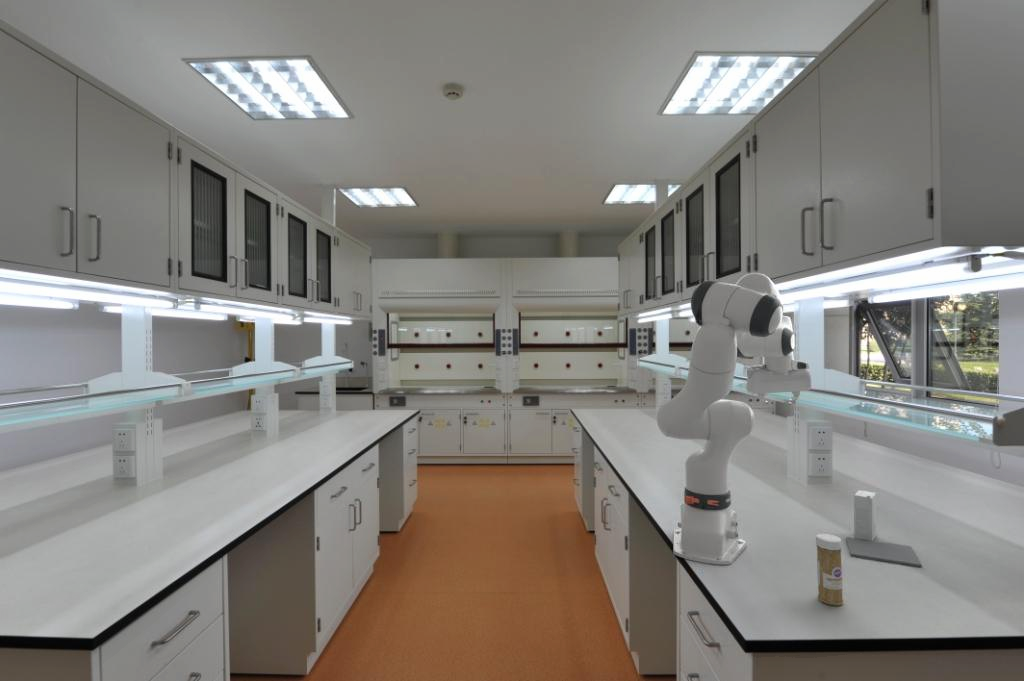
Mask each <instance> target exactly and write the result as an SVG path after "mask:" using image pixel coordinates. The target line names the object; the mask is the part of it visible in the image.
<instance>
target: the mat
mask: <svg viewBox="0 0 1024 681" xmlns="http://www.w3.org/2000/svg"><path fill="white" fill-rule="evenodd" d="M845 541H846V544H847V545H846V546H847V548H848V551H849V555H850V557H853V556H855V558H860V559H861V558H862V559H867V560H873V561H879V562H885V563H892V564H899V565H905V566H911V567H917V568H923V564H922V562H921V561H920V560H919V557H918V556H917V554H916V552H915V551H914V549H913V547H912V545H906V544H899V543H893V542H892V543H891V542H884V541H878V540H873V541H872V540H865V539H858V538H855V537H850V536H845Z"/></svg>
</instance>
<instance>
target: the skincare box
mask: <svg viewBox="0 0 1024 681" xmlns="http://www.w3.org/2000/svg"><path fill="white" fill-rule="evenodd" d="M853 500H854V501H853V511H854V512H853V513H854V514H853V517H854V518H853V520H854V521H853V526H854V528H853V532H854V535H853V536H854V537H853V538H858V539H865V540H872V541H875V538H876V537H877V536H878V535H877V531H878V530H877V526H878V525H877V493H876V492H872V491H866V490H857V491H856V493H855V494H854V495H853Z"/></svg>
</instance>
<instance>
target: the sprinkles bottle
mask: <svg viewBox="0 0 1024 681" xmlns="http://www.w3.org/2000/svg"><path fill="white" fill-rule="evenodd" d="M842 544H843V543H842V539H841V538H840V537H839V536H838V535H837V536H836V535H832V534H829V533H818V534H816V536H815V545H816V555H817V556H816V570H817V571H816V572H817V585H818V594H817V598H818V600H819V601H821V602H822V603H824V604H826V605H829V606H836V607H837V606H842V605H843V603H844V600H843V569H842V567H843V566H842V553H841V552H842V548H843V547H842V546H843V545H842Z"/></svg>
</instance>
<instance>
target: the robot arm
mask: <svg viewBox="0 0 1024 681" xmlns="http://www.w3.org/2000/svg"><path fill="white" fill-rule="evenodd" d="M690 309H691V313H692V315H693V316H694V321H695V323H696V324H697V325H698V326H699V327H698V329H697V330H696V333H695V336H694V339H693V342H692V346H691V351H690V358H689V366H688V373H687V378H686V380H685V384H684V386H683V388H682V389H681V390H680V391H679V392H678V393H677V394H676V395H675V396H674V397H672V398H671V399H669V400H668V401H665V402H663V404H662V405H661V406H660V407H659V408H658V410H657V413H656V423H657V426H658V429H659V431H660V432H661V433H662V435H663V436H665V437H668V438H672V439H677V440H686V441H687V440H691V441H692V440H693V441H694V440H695V441H697V440H703V441H704V440H706V443H705V445H704V446H703V447H702V448H701V449H699V450H698V451H695V452H693V453H691V454H690V455H689V457H688V458H687V459H686V461H685V465H684V466H685V486H684V491H683V497H684V503H682V504H681V505H680V522H678V523H677V527H678V528H679V529H673V537H672V538H673V540H672V542H673V543H672V547H673V549H672V552H673V555H675V556H678V557H679V558H682V559H686V560H690V561H694V562H699V563H704V564H712V565H731V564H732V563H733V562H734V561H735V560H736V559H737V557H738V556H739V555H740V554H741V553H742V551H743V550H744V549H745V548H746V547H747V543H746V540H744V539H742V538H740V536H739V535H740V534H739V523H738V522H739V521H738V520H739V519H738V513H737V512H736V511H735V510H734V508H732V506H731V504H732V495H731V491H730V489H729V472H730V463H731V459H732V456H733V454H734V452H735V451H736V449H737V447H738V446H739V445H740V444H741V443H742V442H743V441H744V440H746V439H747V438H748V437H750V435H752V433H753V432H754V429H755V426H756V415H755V413H754V411H753V409H752V407H751V406H750V405H749V404H748V403H746V402H744V401H738V400H731V399H724V398H725V397H727V396H728V395H729V394H730V393H731V390H732V389H733V384H734V378H735V374H736V373H735V372H736V366H737V360H738V359H737V358H751V357H752V358H753V357H754V358H762V364H759V365H751V366H750V367H748V368H747V370H746V386H745V387H746V391H747V392H748V393H750V394H753V395H757V398H758V399H759V401H760V403H761V404H760V405H761V407H762V408H763V407H764V408H765V407H766V408H767V407H769V401H768V400H766V399H765V397H766V394H776V393H777V394H778V393H791V394H792V396H791V399H788V404H789V405H790V406H797V400H798V399H799V396H800V395H801V393H800V392H809V391H810V390H811V389H812V376H811V372H810V370H809V369H810V363H809V362H806V361H803V360H798V359H795V358H794V351H795V350H796V333H795V332H794V331H793V330H794V329H793V323H792V319H791V317H790V316H788V315H784V314H783V313H784V306H783V301H782V297H781V294H780V291H779V290H778V288H777V286H776V284H775V283H774V282H773V281H772V279H770V277H768V276H767V275H766V274H763V273H758V272H750V273H748V274H745V275H742V276H741V277H740V278H739V279H738V280H737V282H736V284H733V283H726V282H720V281H718V280H703V281H702V282H701V283H699V284H698V285H697V286H696V287H695V289H694V290H693V292H692V295H691V298H690Z"/></svg>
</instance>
